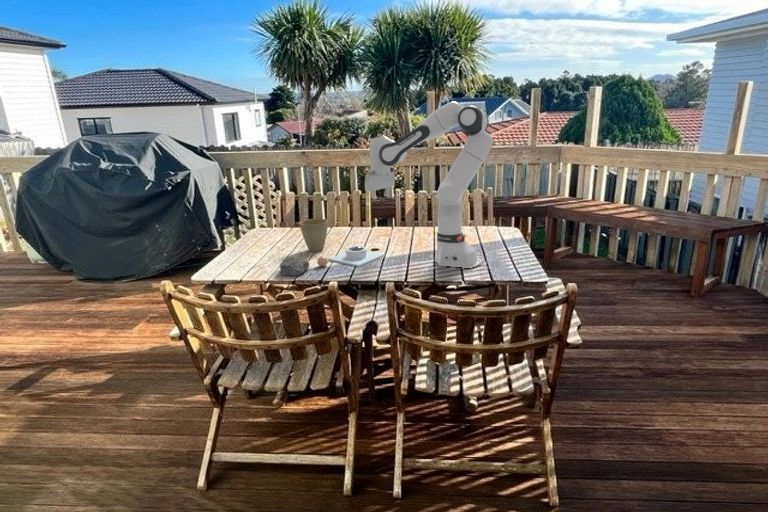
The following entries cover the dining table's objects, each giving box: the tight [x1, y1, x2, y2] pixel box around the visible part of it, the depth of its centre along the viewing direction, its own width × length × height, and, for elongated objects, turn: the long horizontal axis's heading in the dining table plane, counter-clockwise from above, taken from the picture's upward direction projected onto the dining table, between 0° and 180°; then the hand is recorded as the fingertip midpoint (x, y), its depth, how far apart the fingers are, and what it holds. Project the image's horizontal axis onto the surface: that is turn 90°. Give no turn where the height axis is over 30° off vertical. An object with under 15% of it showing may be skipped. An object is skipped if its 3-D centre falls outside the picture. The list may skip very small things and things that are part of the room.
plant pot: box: [299, 218, 329, 253], centre depth 241 cm, size 15×15×16 cm
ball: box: [316, 255, 329, 267], centre depth 216 cm, size 5×5×5 cm
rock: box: [279, 256, 310, 277], centre depth 209 cm, size 13×6×15 cm
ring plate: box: [327, 245, 385, 268], centre depth 226 cm, size 20×20×5 cm
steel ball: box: [353, 245, 363, 251], centre depth 226 cm, size 5×5×5 cm
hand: (380, 197), depth 225 cm, fingers open, 8 cm apart
